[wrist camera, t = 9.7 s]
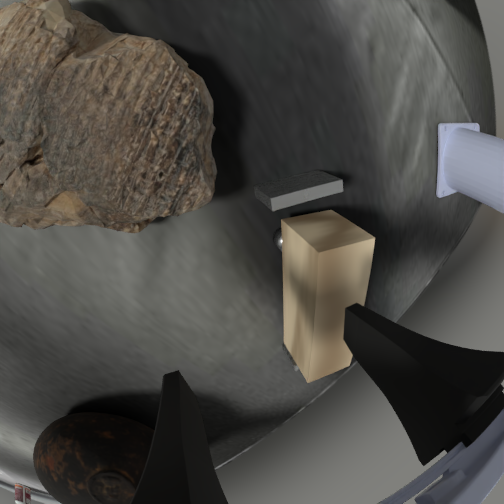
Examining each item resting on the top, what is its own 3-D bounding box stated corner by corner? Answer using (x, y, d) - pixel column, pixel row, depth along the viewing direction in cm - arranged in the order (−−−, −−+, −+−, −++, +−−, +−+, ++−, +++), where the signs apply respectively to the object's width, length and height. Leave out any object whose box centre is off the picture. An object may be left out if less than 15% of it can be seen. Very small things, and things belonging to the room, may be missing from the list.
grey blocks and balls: (318, 169, 19) (342, 179, 17) (326, 331, 28) (341, 350, 25) (253, 185, 18) (270, 198, 16) (282, 349, 27) (295, 370, 25)
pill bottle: (14, 484, 30) (14, 508, 23) (15, 481, 30) (15, 507, 22) (29, 490, 33) (30, 514, 26) (31, 488, 32) (32, 513, 25)
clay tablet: (257, 86, 16) (11, 0, 6) (291, 82, 12) (-20, -19, 2) (162, 267, 20) (-54, 183, 10) (167, 310, 16) (-89, 207, 6)
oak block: (331, 209, 20) (375, 237, 16) (322, 329, 26) (349, 365, 22) (281, 219, 19) (318, 252, 15) (283, 342, 25) (307, 382, 21)
